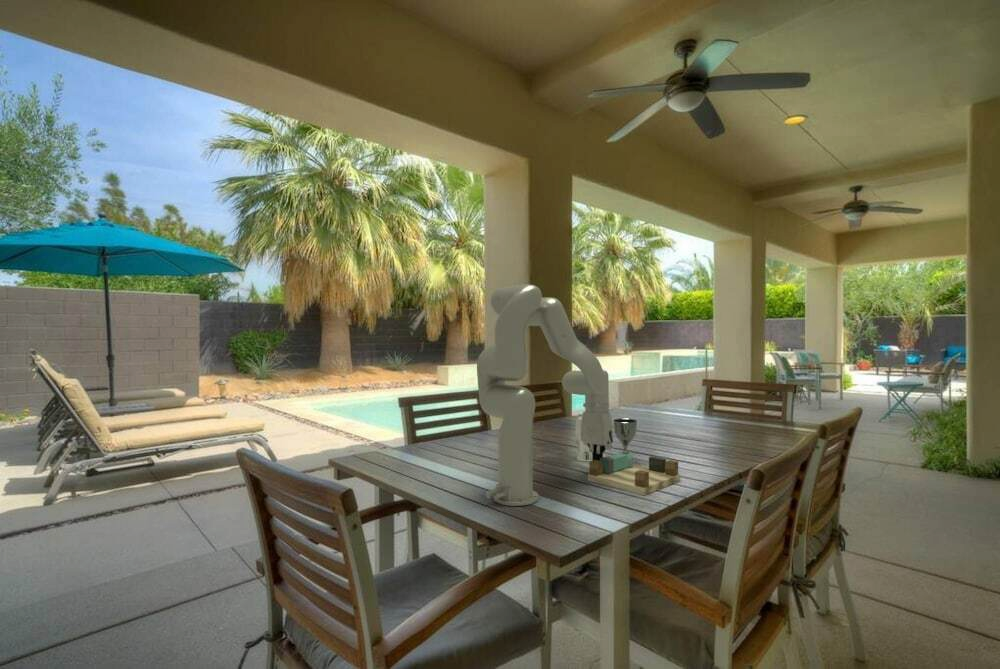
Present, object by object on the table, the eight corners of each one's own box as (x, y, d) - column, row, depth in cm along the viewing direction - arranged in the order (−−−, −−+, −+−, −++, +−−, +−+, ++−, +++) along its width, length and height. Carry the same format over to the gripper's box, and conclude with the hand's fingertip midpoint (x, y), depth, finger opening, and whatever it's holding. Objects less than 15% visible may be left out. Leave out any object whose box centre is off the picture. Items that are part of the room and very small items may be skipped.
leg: (610, 473, 158) (610, 459, 158) (598, 471, 161) (598, 456, 161) (635, 465, 167) (635, 451, 167) (624, 463, 170) (623, 449, 170)
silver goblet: (641, 462, 179) (640, 420, 179) (630, 467, 173) (630, 423, 173) (620, 459, 185) (620, 417, 185) (609, 463, 179) (609, 420, 179)
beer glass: (593, 462, 180) (593, 420, 180) (574, 461, 183) (573, 419, 183) (596, 457, 187) (596, 416, 187) (577, 456, 189) (577, 416, 189)
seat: (644, 495, 144) (643, 474, 144) (587, 480, 159) (587, 461, 159) (680, 481, 157) (680, 461, 157) (625, 468, 172) (625, 450, 172)
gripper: (571, 407, 168) (572, 462, 168) (609, 412, 157) (609, 471, 157) (585, 404, 173) (586, 458, 173) (623, 409, 162) (624, 467, 162)
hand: (597, 464), depth 165 cm, fingers closed
